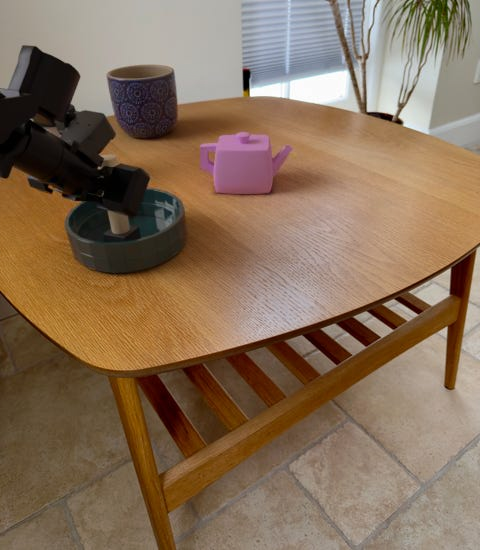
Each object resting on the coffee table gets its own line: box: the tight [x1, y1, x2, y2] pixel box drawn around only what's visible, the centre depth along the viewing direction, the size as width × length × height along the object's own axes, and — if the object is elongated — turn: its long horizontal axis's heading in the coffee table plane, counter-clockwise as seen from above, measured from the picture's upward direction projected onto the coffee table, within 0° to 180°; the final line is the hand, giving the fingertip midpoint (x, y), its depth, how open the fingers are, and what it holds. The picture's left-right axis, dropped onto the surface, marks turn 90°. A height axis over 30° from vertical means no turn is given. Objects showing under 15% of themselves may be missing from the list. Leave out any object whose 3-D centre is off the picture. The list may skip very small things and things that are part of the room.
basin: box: [64, 187, 188, 274], centre depth 69 cm, size 18×18×6 cm
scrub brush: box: [98, 154, 141, 243], centre depth 65 cm, size 4×4×14 cm
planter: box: [106, 64, 179, 139], centre depth 110 cm, size 16×16×15 cm
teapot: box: [199, 131, 294, 195], centre depth 85 cm, size 18×10×10 cm, turn 86°
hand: (123, 201), depth 67 cm, fingers closed on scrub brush, 3 cm apart
